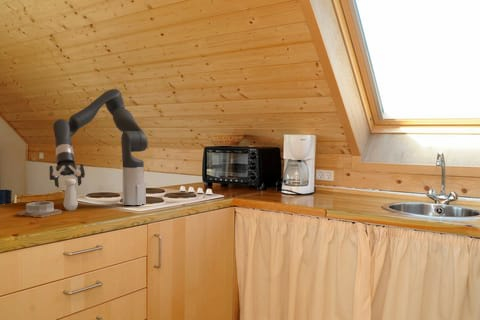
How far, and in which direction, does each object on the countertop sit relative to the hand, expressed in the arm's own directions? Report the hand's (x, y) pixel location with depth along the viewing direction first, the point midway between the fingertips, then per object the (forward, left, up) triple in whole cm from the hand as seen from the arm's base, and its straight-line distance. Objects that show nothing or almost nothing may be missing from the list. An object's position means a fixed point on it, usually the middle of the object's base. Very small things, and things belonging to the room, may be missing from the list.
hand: (68, 185), depth 173 cm
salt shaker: (-4, +3, -10) cm, 11 cm away
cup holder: (0, +15, -10) cm, 18 cm away
